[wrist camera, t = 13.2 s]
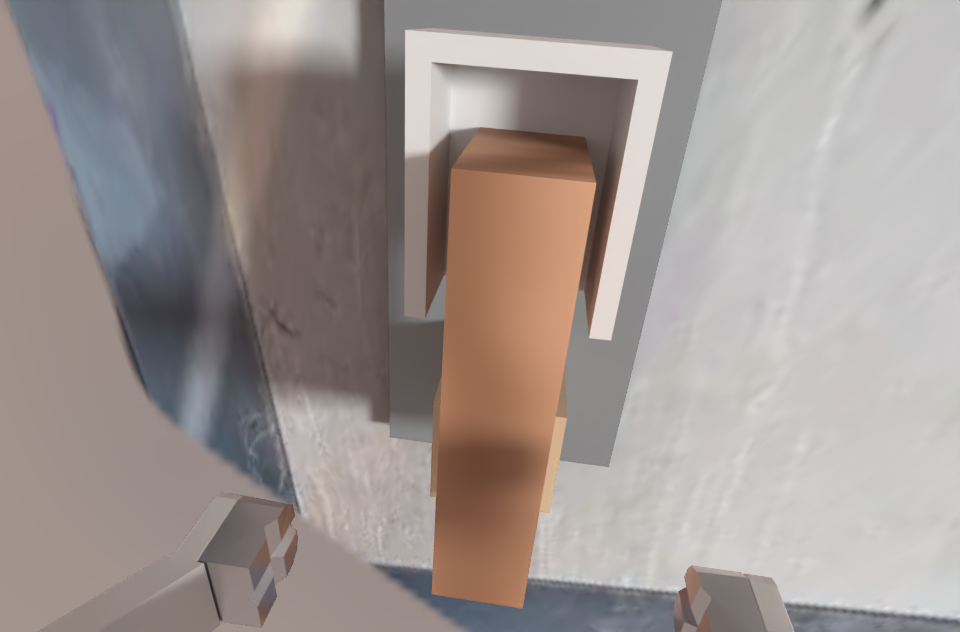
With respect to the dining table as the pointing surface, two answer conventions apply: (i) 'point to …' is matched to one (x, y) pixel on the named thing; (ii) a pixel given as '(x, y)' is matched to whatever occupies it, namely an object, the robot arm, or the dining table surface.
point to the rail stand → (543, 109)
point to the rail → (504, 350)
